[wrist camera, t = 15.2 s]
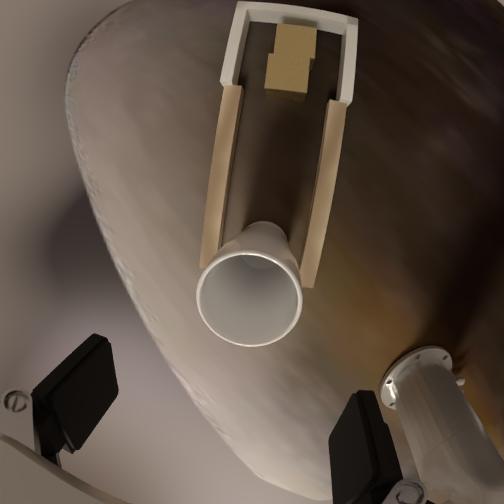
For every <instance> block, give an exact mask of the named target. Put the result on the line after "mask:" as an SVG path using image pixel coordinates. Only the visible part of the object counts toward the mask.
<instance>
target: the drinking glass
mask: <svg viewBox="0 0 504 504" xmlns="http://www.w3.org/2000/svg"><path fill="white" fill-rule="evenodd" d="M196 300H197V306H198V310H199V312H200V315H201V317H202V319H203V320H204V322H205V323H206V325H207V326H208V327H209V328H210V329H211V330H212V331H213V332H214V333H215V334H216V335H218V336H219V337H221V338H222V339H224V340H226V341H228V342H231V343H233V344H237V345H241V346H263V345H267V344H270V343H273V342H275V341H277V340H279V339H281V338H282V337H284V336H285V335H286V334H288V333H289V332H290V331H291V329H292V328H293V327H294V326H295V324H296V323H297V321H298V319H299V317H300V314H301V310H302V305H303V296H302V281H301V275H300V270H299V267H298V264H297V261H296V259H295V256H294V254H293V252H292V250H291V248H290V246H289V244H288V241H287V237H286V235H285V233H284V231H283V230H282V229H281V228H280V227H279V226H278V225H276V224H274V223H272V222H268V221H258V222H254V223H252V224H250V225H249V226H247V227H246V228H245V229H244V230H243V231H242V232H241V233H240V234H238V235H237V236H235V237H234V238H232V239H231V240H230V241H228V242H227V243H226V244H225V245H224V246H222V247H221V248H220V249H219V250H218V252H217V253H216V254H215V255H214V256H213V258H212V259H211V260H210V262H209V263H208V265H207V266H206V268H205V270H204V271H203V273H202V275H201V277H200V279H199V282H198V285H197V291H196Z"/></svg>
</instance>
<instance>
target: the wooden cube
mask: <svg viewBox="0 0 504 504" xmlns="http://www.w3.org/2000/svg"><path fill="white" fill-rule="evenodd" d="M309 64H310V58H307V57H299V56H292V55H283V54H272V53H269V56H268V64H267V72H266V80H265V92H266V97H267V99H277V100H286V101H293V102H301V103H304V101H305V98H306V94H307V86H308V75H309Z"/></svg>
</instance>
